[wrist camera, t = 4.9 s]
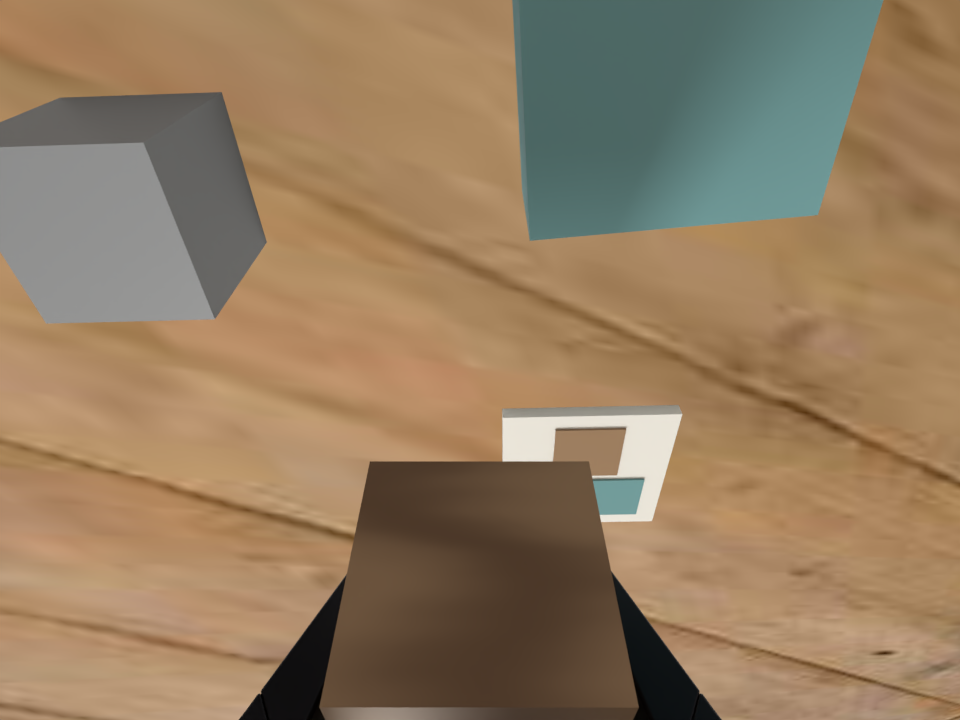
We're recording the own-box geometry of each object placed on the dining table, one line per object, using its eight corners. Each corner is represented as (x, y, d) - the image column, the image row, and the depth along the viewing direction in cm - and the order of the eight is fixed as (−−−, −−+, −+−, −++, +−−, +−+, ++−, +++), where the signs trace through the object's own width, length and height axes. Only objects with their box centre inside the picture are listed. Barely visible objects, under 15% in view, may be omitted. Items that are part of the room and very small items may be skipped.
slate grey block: (131, 245, 20) (46, 323, 16) (61, 97, 17) (-67, 149, 13) (267, 241, 20) (214, 319, 16) (222, 91, 17) (143, 142, 13)
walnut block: (391, 577, 16) (362, 796, 12) (369, 461, 12) (318, 707, 9) (567, 577, 16) (596, 796, 12) (588, 461, 12) (638, 707, 9)
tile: (502, 514, 30) (503, 525, 29) (502, 408, 25) (502, 419, 24) (649, 511, 30) (652, 522, 29) (678, 404, 25) (683, 415, 24)
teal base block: (521, 188, 19) (529, 240, 16) (505, -120, 14) (512, -133, 11) (760, 165, 18) (817, 215, 15) (832, -162, 13) (941, -190, 10)
